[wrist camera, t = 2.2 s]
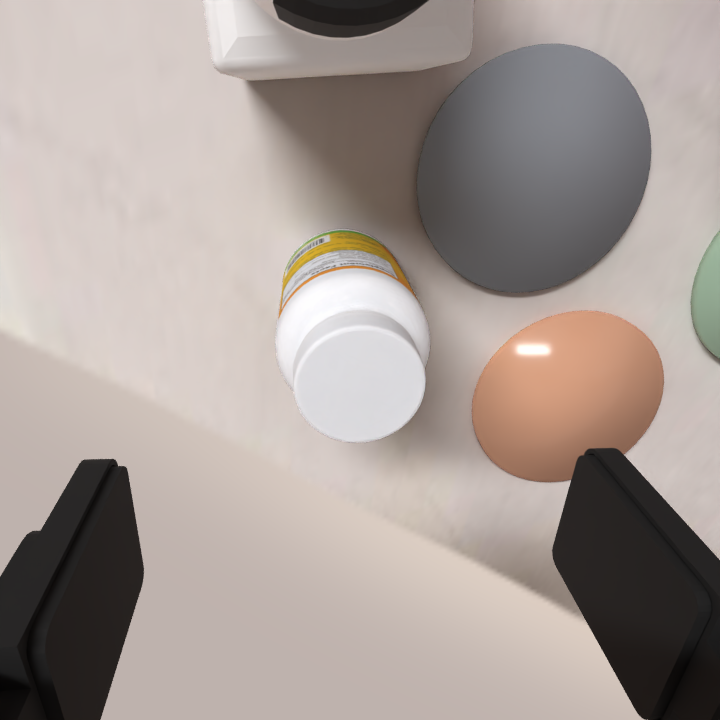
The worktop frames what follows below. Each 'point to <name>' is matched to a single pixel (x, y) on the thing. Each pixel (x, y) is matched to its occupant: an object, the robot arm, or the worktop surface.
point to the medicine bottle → (335, 36)
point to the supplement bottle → (351, 337)
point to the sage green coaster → (708, 298)
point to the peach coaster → (566, 393)
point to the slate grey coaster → (534, 167)
